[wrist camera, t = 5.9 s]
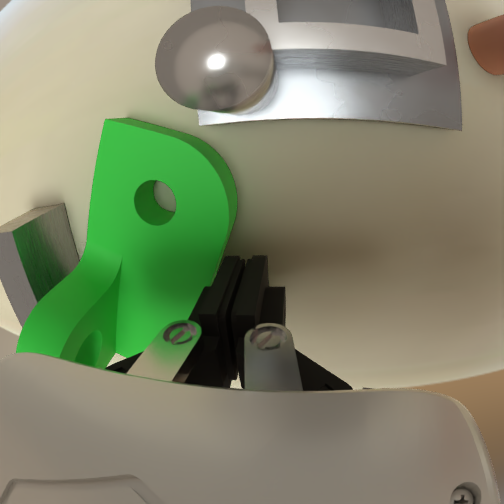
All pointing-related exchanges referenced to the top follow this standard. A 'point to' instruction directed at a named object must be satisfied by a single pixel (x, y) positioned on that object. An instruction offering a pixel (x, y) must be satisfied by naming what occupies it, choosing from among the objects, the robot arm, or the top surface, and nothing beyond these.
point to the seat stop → (35, 256)
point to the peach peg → (488, 44)
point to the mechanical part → (138, 246)
